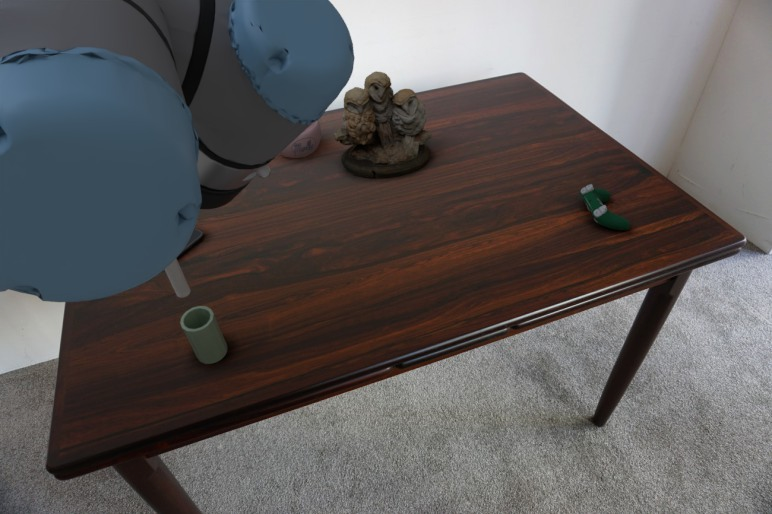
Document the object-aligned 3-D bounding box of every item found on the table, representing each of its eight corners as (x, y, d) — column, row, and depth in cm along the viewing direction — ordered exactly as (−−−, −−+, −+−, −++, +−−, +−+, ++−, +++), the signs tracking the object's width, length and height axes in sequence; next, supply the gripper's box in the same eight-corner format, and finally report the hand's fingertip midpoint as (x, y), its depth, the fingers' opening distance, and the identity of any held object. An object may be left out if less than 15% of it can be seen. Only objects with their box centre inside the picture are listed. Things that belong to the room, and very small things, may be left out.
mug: (312, 131, 108) (308, 105, 104) (331, 154, 102) (327, 127, 97) (257, 147, 104) (250, 121, 100) (272, 172, 98) (266, 145, 94)
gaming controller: (591, 206, 90) (572, 189, 87) (610, 192, 88) (591, 174, 85) (613, 242, 84) (593, 224, 81) (634, 227, 82) (614, 209, 79)
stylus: (180, 302, 61) (135, 209, 51) (176, 294, 62) (132, 200, 52) (193, 297, 61) (152, 203, 51) (189, 288, 62) (148, 195, 52)
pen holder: (202, 369, 67) (185, 336, 62) (193, 347, 70) (176, 314, 65) (231, 355, 69) (217, 322, 64) (221, 334, 71) (207, 301, 66)
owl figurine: (342, 186, 94) (332, 98, 82) (332, 151, 102) (321, 67, 90) (438, 170, 97) (441, 82, 85) (421, 137, 105) (421, 53, 93)
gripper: (181, 241, 37) (112, 310, 54) (300, 140, 46) (208, 227, 63) (98, 159, 35) (55, 258, 53) (239, 70, 44) (162, 180, 62)
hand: (139, 241), depth 58 cm, fingers closed on stylus, 1 cm apart
